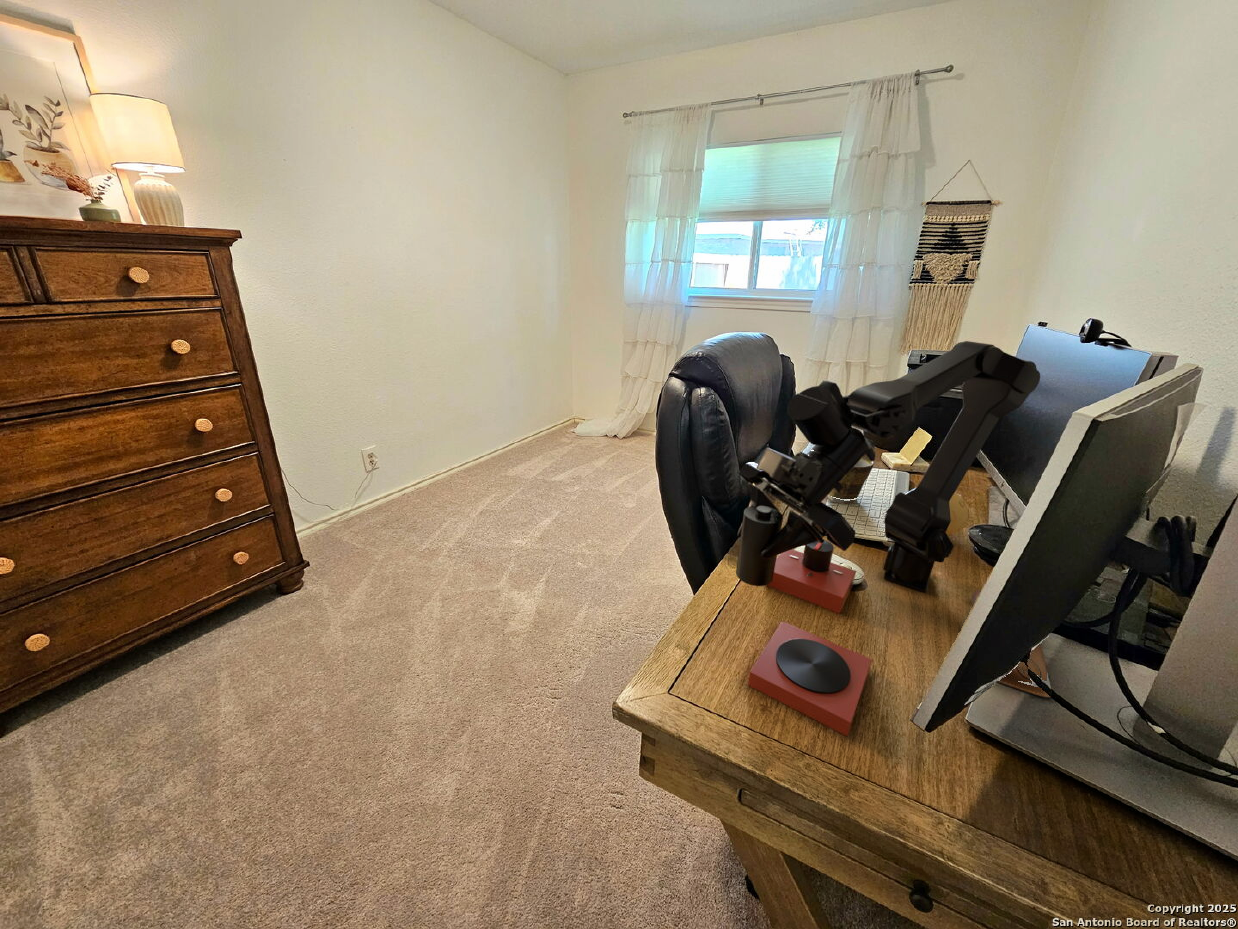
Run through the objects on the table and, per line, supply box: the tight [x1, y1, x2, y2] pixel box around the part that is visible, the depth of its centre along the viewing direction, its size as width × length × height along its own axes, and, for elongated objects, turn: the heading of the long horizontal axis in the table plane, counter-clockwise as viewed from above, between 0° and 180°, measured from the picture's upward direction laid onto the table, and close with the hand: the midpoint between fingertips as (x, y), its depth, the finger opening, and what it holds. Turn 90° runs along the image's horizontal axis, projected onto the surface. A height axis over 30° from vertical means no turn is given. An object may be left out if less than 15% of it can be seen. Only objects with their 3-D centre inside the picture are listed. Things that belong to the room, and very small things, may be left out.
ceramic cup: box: [826, 458, 875, 505], centre depth 110 cm, size 13×10×10 cm
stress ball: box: [946, 491, 970, 536], centre depth 97 cm, size 10×10×10 cm
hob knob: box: [802, 538, 835, 572], centre depth 81 cm, size 4×4×4 cm
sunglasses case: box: [971, 588, 1053, 699], centre depth 69 cm, size 18×7×7 cm
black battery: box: [735, 506, 784, 587], centre depth 67 cm, size 5×5×11 cm
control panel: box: [766, 549, 857, 614], centre depth 81 cm, size 12×11×3 cm
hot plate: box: [747, 620, 873, 737], centre depth 62 cm, size 12×12×2 cm
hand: (750, 546), depth 67 cm, fingers closed on black battery, 5 cm apart
